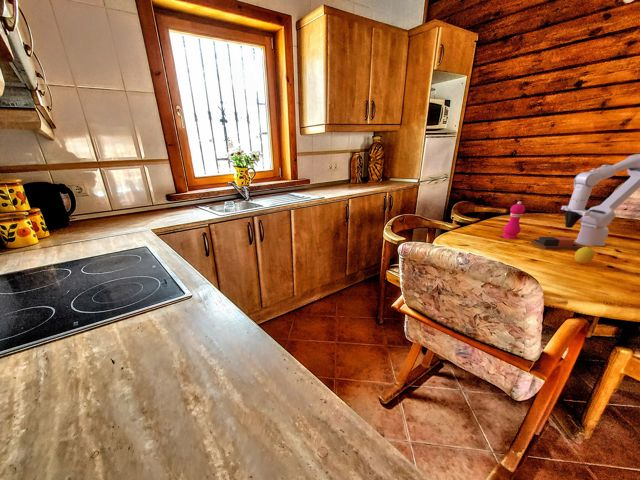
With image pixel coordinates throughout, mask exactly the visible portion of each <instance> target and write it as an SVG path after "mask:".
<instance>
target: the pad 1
mask: <svg viewBox="0 0 640 480" xmlns="http://www.w3.org/2000/svg"><path fill="white" fill-rule="evenodd" d="M554 237H555V236H539V237H538V239H537V240H538V242H539V243H541V244H543V245H545V246H558V243H559V239H557V238H554Z"/></svg>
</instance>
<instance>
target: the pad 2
mask: <svg viewBox="0 0 640 480" xmlns="http://www.w3.org/2000/svg"><path fill="white" fill-rule="evenodd" d="M553 237H554V238H557V239H559V243H558V246H573V243H575V242H574V241H575V240H576V239H574V238H572V237H569V236H553Z"/></svg>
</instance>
